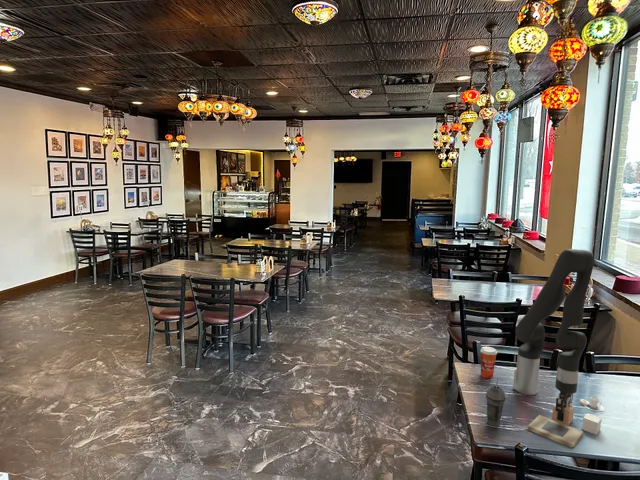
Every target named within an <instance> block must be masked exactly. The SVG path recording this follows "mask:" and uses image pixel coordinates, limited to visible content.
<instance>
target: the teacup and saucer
mask: <svg viewBox="0 0 640 480" xmlns="http://www.w3.org/2000/svg"><path fill="white" fill-rule="evenodd" d="M579 403H580V404H581V405H582V406H583V407H584V408H586V409H588V410H591V411H593V412H598V413H599V412H604V411H605V407H604V406H602V402H601V401H600V399H599V398H598V397H595V396H590V397H589V401H588V400H586V399H583V398H581V399H579ZM599 403H600V404H599ZM589 405H590V407H591V408H589V407H588V406H589ZM599 407H600V409H599V410H598V409H596V408H599ZM592 408H593V409H592Z"/></svg>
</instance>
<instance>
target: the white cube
mask: <svg viewBox="0 0 640 480" xmlns="http://www.w3.org/2000/svg"><path fill="white" fill-rule="evenodd" d="M601 424H602V418H601V417H600V416H597V415H594V414H591V413H586V414H585V415H584V416H583V418H582V426H581V429H582V431H583V430H584V432H585V431H586V432H588V433H591V434H594V435H598V434H599V432H600V431H601V428H602V427H601V426H602V425H601Z"/></svg>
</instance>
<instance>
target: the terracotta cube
mask: <svg viewBox="0 0 640 480" xmlns="http://www.w3.org/2000/svg"><path fill="white" fill-rule="evenodd" d="M564 405H565V404H564ZM559 409H561V408H559ZM557 413H558V412H557V411H556V403H555V404H553V407H552V414H551V419H552V420H554V421H557V422H559V423H562V424H564V425H567V426H569V425H570V424H571V423H572V422H573V420H574V413H575V406H574V405H572V404H571V405H567V408H565V412H564V420H563V421H559V420H557Z"/></svg>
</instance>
